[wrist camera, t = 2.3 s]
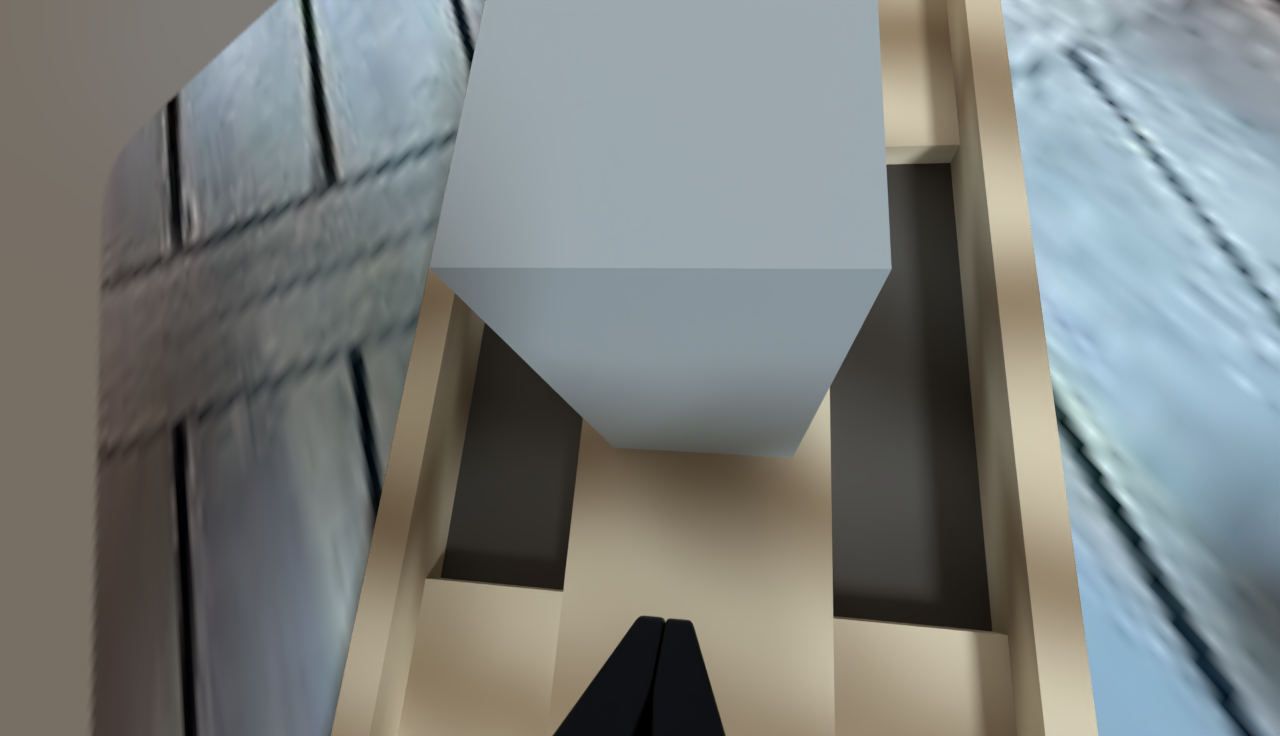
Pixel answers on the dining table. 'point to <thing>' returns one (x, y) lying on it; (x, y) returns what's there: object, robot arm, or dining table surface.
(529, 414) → the box
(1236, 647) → the dining table surface
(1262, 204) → the dining table surface
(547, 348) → the block
